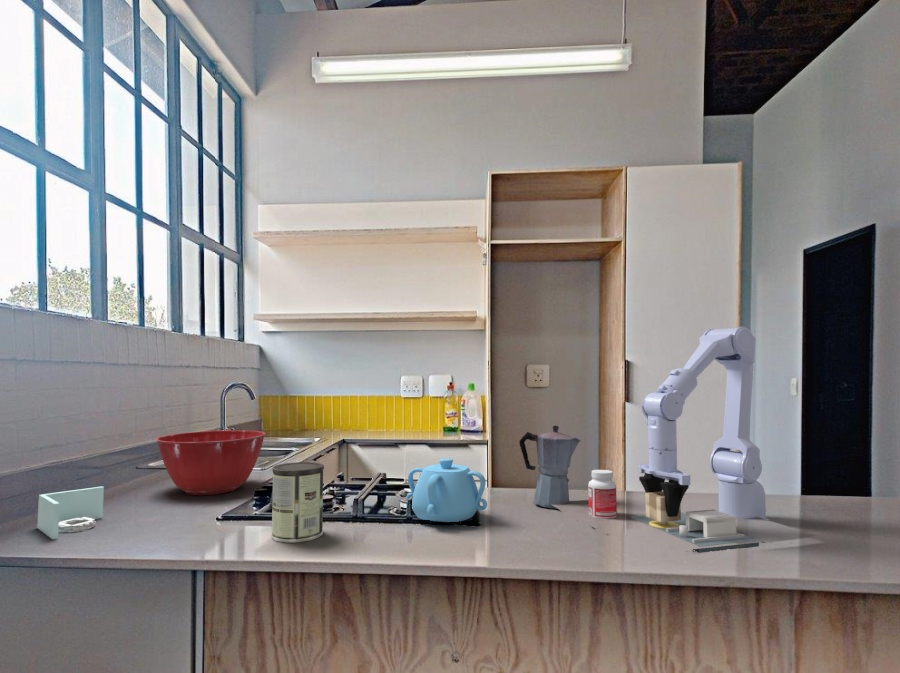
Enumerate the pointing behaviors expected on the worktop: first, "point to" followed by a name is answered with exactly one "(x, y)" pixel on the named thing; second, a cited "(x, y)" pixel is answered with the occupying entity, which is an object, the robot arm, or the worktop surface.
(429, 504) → the decorative pot
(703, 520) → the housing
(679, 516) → the collar
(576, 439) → the moka pot
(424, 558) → the worktop surface
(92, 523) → the right angle wall
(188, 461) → the mixing bowl
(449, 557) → the worktop surface
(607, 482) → the pill bottle
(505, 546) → the worktop surface
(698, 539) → the board
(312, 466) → the coffee can
